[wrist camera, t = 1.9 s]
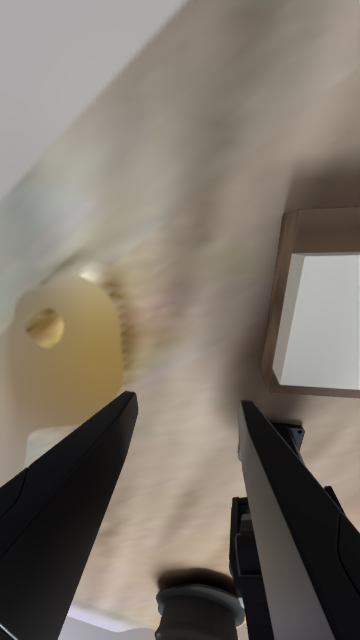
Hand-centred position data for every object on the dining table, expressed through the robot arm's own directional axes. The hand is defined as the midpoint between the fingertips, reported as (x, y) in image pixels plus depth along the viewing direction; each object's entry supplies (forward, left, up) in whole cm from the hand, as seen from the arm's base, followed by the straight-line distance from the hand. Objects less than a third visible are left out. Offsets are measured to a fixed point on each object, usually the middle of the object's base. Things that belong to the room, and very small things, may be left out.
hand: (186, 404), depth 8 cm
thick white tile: (0, -9, -9) cm, 13 cm away
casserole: (-67, 0, -12) cm, 68 cm away
